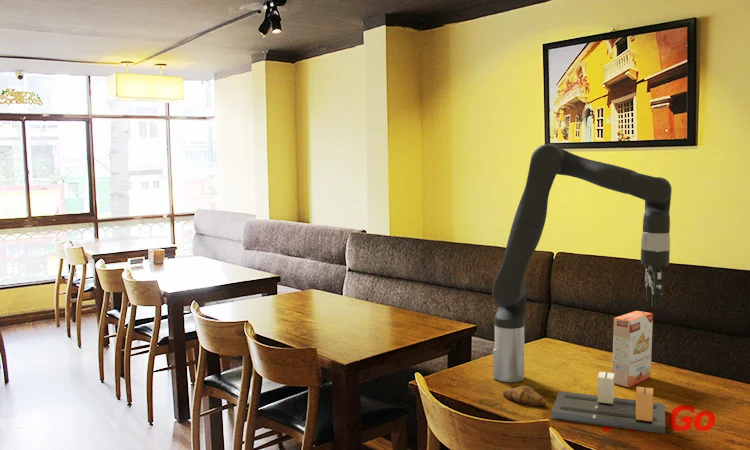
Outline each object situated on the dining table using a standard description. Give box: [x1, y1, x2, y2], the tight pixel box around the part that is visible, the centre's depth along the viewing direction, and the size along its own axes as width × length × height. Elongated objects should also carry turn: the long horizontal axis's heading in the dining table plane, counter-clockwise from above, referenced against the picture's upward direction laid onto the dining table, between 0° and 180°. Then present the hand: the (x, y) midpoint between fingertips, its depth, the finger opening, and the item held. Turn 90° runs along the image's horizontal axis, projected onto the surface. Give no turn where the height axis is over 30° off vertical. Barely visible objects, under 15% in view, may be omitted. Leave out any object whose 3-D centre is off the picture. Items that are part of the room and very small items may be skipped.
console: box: [550, 390, 666, 435], centre depth 176 cm, size 28×17×2 cm, turn 67°
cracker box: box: [611, 310, 654, 388], centre depth 200 cm, size 14×6×21 cm, turn 130°
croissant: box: [502, 385, 547, 408], centre depth 186 cm, size 14×7×5 cm, turn 47°
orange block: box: [635, 386, 654, 421], centre depth 167 cm, size 4×5×7 cm
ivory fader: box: [597, 371, 615, 404], centre depth 180 cm, size 4×5×7 cm
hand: (653, 303), depth 186 cm, fingers open, 8 cm apart
